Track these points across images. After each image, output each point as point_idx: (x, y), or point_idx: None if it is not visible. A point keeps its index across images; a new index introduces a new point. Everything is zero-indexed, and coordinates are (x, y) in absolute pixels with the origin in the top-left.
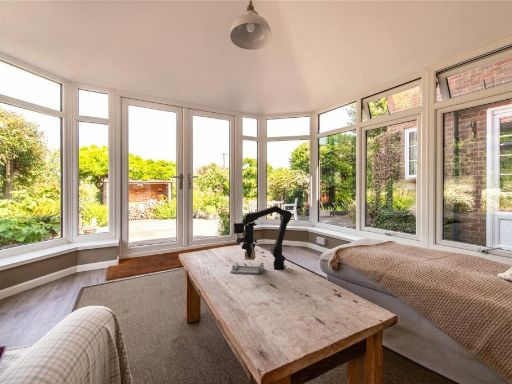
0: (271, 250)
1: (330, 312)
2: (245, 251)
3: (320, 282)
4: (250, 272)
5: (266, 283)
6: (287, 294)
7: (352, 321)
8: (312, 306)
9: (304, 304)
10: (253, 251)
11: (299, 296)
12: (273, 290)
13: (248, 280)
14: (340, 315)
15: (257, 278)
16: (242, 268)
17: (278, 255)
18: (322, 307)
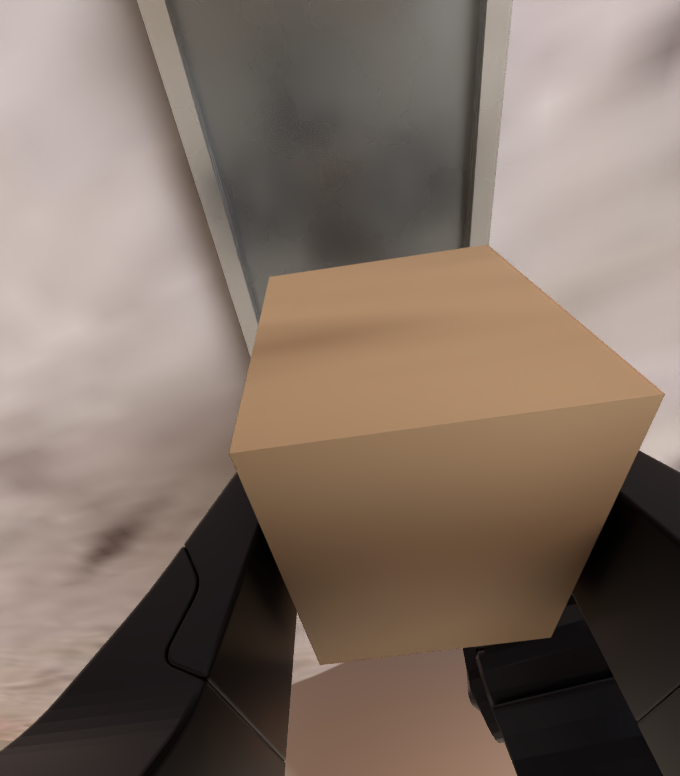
0: (602, 700)
1: (30, 706)
2: (328, 462)
3: (295, 666)
4: (241, 318)
5: (113, 506)
6: (50, 616)
7: (25, 730)
8: (23, 680)
9: (12, 666)
10: (394, 646)
11: (74, 646)
12: (36, 564)
13: (54, 352)
14: (35, 718)
15: (170, 416)
16: (377, 88)
17: (468, 692)
18: (45, 694)
